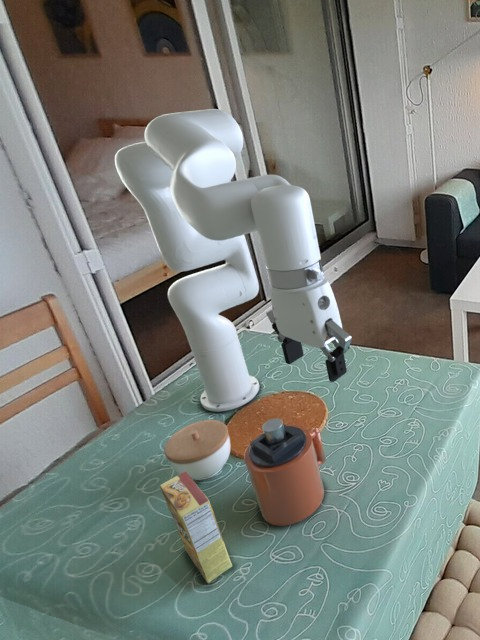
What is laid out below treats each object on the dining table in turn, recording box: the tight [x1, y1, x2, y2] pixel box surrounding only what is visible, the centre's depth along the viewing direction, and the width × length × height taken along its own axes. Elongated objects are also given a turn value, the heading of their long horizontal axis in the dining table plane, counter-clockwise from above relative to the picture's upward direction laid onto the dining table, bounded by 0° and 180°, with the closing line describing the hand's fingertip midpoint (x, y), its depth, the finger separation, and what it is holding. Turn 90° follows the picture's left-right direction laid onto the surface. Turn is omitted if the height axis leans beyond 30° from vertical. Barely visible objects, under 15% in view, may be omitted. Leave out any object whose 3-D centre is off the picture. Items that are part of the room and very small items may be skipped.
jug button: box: [262, 418, 286, 445], centre depth 85 cm, size 3×3×3 cm
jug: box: [243, 423, 327, 527], centre depth 90 cm, size 11×14×15 cm
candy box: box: [159, 471, 233, 584], centre depth 79 cm, size 9×4×15 cm, turn 50°
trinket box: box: [163, 419, 232, 481], centre depth 97 cm, size 11×11×9 cm
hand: (316, 368), depth 80 cm, fingers open, 9 cm apart
